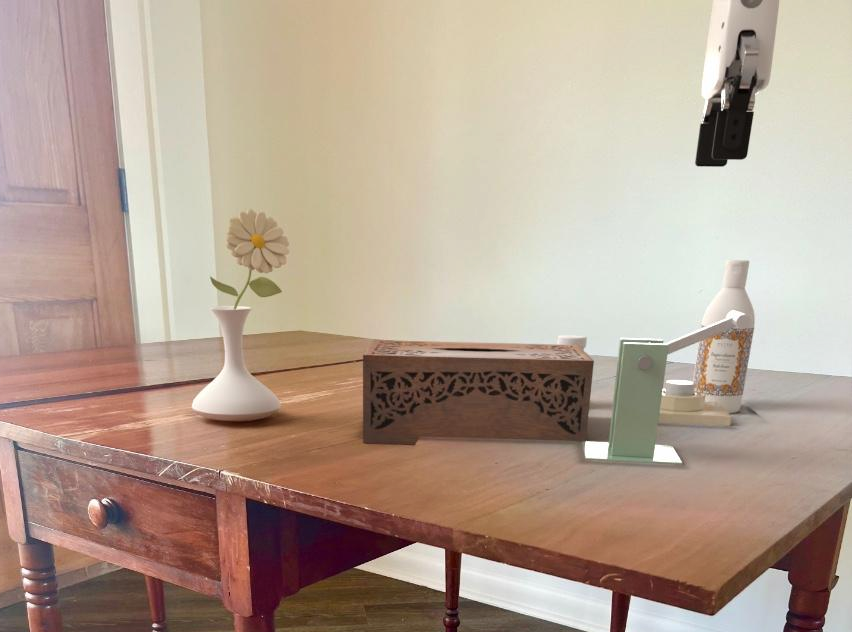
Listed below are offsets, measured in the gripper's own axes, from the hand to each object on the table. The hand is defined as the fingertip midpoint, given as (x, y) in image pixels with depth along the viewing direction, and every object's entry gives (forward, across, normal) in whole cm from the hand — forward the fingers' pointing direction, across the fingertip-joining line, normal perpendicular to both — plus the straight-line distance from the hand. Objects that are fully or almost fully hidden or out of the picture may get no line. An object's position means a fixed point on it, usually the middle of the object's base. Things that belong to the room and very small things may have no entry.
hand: (719, 162), depth 87 cm
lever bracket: (+30, -6, +6) cm, 31 cm away
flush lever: (+18, -5, +1) cm, 19 cm away
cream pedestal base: (+30, +18, -2) cm, 35 cm away
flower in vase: (+30, +8, +54) cm, 62 cm away
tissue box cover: (+30, +6, +24) cm, 39 cm away
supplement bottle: (+30, +26, +12) cm, 42 cm away
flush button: (+26, +18, -2) cm, 32 cm away
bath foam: (+30, +28, -9) cm, 42 cm away
